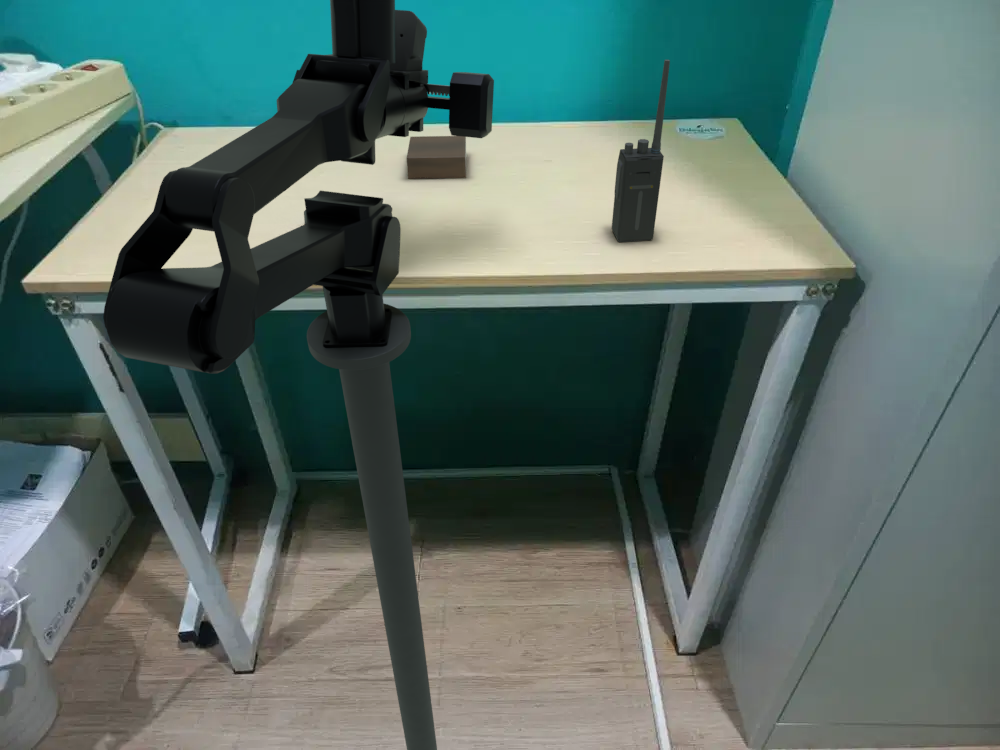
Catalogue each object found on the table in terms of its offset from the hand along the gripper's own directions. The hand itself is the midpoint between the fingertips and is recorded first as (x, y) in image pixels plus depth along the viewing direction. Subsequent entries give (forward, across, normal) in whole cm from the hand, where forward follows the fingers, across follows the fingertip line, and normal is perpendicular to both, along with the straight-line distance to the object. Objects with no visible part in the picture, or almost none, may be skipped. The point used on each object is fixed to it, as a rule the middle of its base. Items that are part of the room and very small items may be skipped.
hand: (433, 93), depth 85 cm
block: (+15, +5, +11) cm, 19 cm away
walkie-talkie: (+2, -25, +14) cm, 29 cm away
